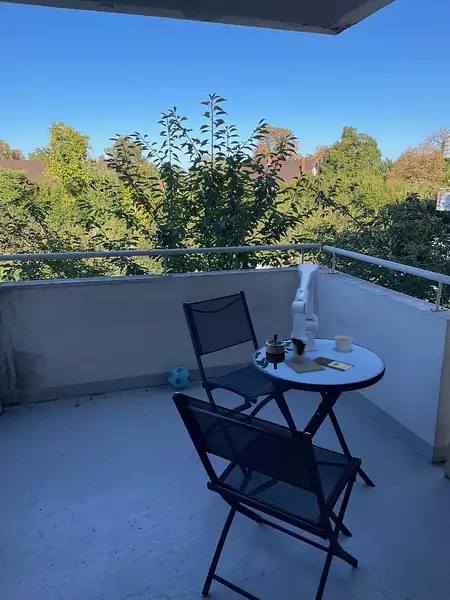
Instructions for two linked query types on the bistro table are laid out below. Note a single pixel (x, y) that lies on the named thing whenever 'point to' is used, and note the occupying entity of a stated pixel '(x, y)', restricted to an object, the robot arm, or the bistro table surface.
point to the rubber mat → (304, 365)
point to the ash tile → (295, 355)
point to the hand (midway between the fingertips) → (298, 354)
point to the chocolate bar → (332, 364)
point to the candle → (343, 343)
